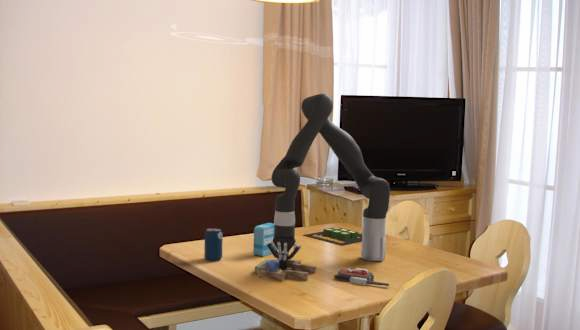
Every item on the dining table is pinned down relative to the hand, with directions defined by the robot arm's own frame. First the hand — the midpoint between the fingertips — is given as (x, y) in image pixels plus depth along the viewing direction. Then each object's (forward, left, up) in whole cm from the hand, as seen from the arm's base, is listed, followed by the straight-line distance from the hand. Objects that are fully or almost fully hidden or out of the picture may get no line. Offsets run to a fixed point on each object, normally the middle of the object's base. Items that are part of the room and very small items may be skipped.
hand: (283, 269), depth 218 cm
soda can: (+31, -5, -2) cm, 32 cm away
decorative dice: (+4, 0, -1) cm, 5 cm away
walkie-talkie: (-29, -3, -2) cm, 29 cm away
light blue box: (+16, -23, -2) cm, 29 cm away
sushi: (-4, -68, -2) cm, 68 cm away
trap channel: (-1, 0, -1) cm, 1 cm away
